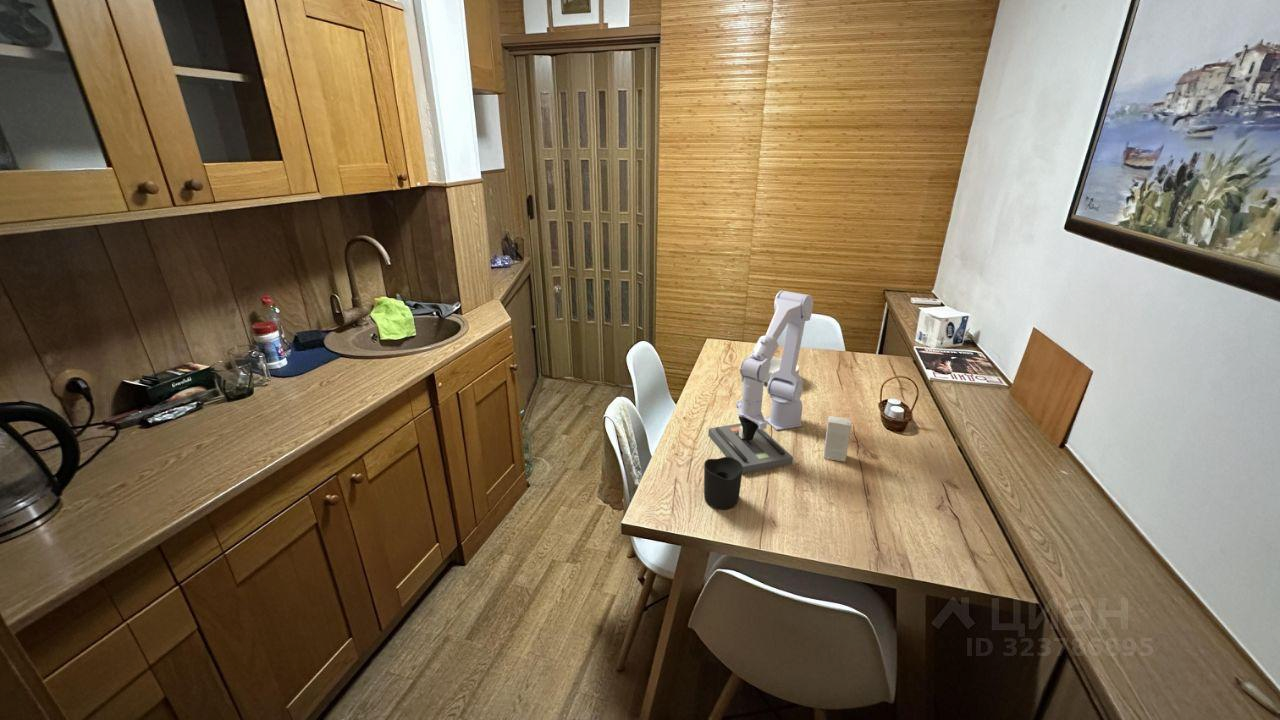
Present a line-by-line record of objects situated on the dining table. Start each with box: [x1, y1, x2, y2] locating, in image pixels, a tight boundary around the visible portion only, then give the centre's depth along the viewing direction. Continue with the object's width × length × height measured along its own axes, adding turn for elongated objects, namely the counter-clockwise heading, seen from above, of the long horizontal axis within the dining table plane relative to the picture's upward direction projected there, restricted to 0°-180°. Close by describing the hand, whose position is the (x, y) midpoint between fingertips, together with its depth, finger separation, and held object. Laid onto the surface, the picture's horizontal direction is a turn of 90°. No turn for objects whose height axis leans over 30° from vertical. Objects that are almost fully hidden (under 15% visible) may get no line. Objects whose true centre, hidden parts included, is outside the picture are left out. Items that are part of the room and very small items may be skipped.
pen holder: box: [703, 456, 743, 510], centre depth 124 cm, size 9×9×10 cm
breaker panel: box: [708, 422, 794, 475], centre depth 147 cm, size 16×22×4 cm
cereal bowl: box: [764, 357, 800, 385], centre depth 192 cm, size 17×17×7 cm
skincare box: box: [823, 415, 852, 462], centre depth 141 cm, size 6×4×12 cm
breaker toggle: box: [739, 426, 744, 439], centre depth 148 cm, size 3×2×3 cm
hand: (748, 439), depth 146 cm, fingers closed
